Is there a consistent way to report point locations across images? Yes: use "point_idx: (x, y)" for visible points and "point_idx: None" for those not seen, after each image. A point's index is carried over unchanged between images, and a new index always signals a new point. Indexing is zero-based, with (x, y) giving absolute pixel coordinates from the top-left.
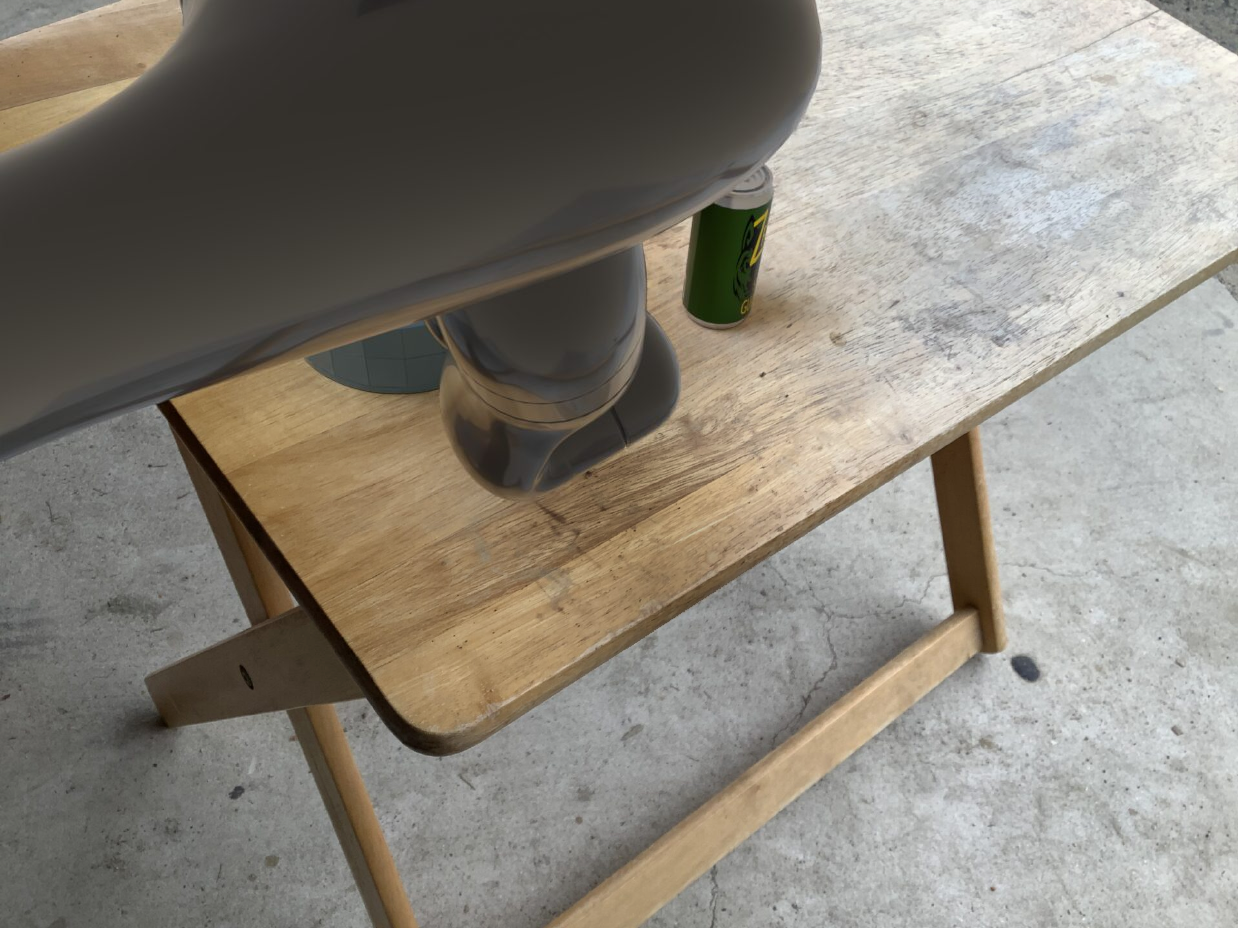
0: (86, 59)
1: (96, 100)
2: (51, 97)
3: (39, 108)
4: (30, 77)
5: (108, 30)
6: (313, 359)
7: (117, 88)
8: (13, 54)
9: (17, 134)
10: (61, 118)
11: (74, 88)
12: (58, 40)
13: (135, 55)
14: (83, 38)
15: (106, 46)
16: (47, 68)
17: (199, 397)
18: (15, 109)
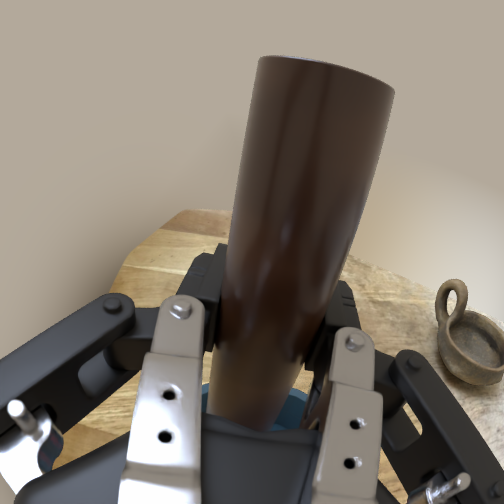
0: (206, 222)
1: (192, 239)
2: (177, 230)
3: (168, 233)
4: (179, 220)
5: (225, 215)
6: None
7: (205, 238)
8: (183, 210)
9: (148, 239)
10: (171, 240)
11: (189, 231)
12: (203, 212)
13: (226, 228)
14: (213, 214)
15: (218, 220)
16: (188, 219)
17: (64, 456)
18: (160, 229)
